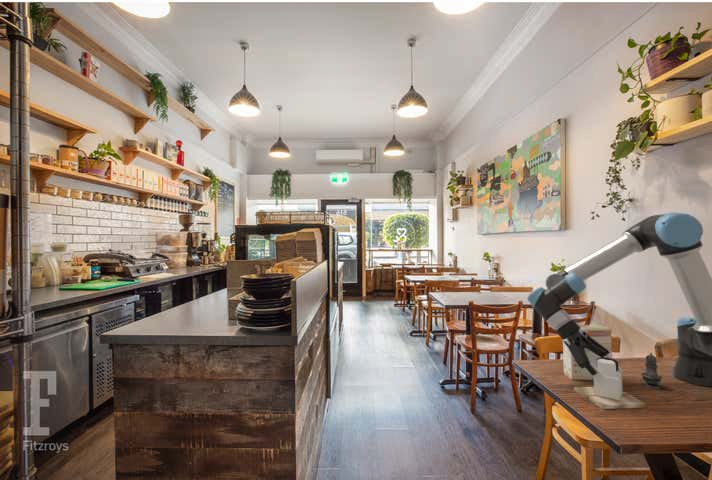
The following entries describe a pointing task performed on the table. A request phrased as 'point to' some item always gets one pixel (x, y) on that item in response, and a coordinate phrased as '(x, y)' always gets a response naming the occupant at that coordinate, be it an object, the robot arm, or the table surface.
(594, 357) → the coffeecake box
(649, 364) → the grey chess piece
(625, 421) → the table surface
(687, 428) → the table surface
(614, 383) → the medicine bottle
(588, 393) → the maple board
